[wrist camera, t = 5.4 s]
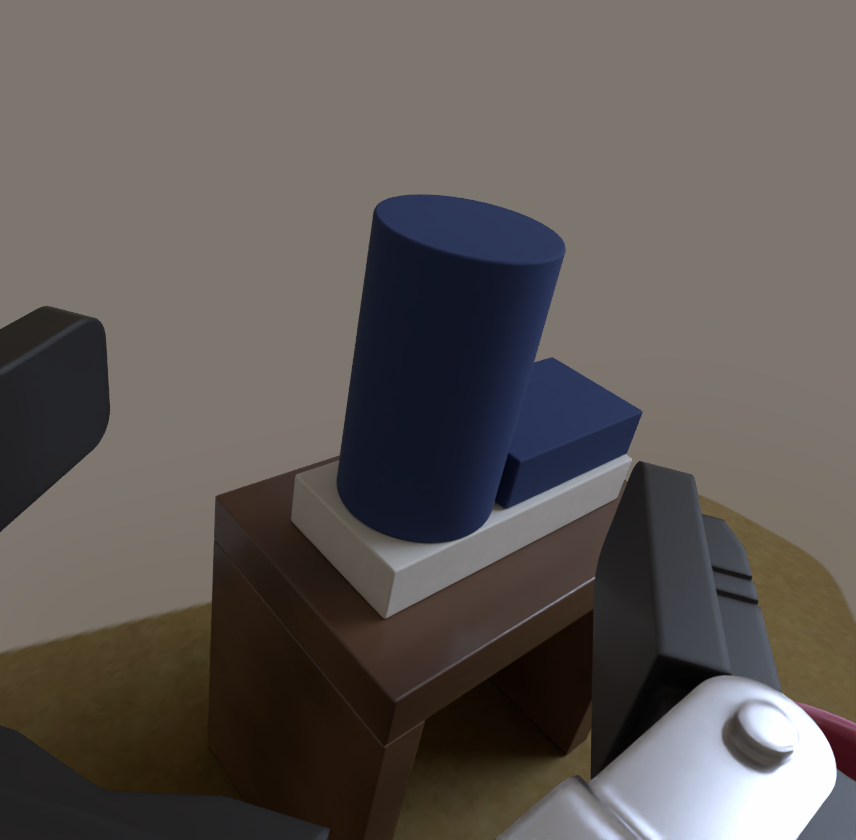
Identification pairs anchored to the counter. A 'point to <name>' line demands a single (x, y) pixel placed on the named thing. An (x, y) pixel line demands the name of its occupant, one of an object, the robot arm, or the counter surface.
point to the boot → (457, 408)
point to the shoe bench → (379, 659)
